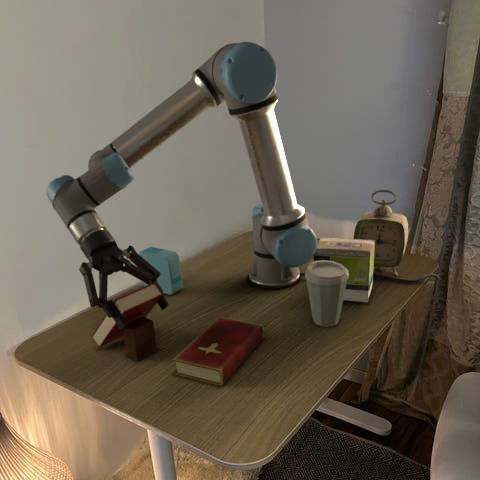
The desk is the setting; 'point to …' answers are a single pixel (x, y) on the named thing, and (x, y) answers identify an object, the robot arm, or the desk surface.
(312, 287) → the disposable coffee cup
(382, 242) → the tabletop clock
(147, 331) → the walnut box
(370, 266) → the tea box
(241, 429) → the desk surface
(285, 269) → the robot arm
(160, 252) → the data package
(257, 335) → the hardcover book
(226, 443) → the desk surface
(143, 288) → the book
